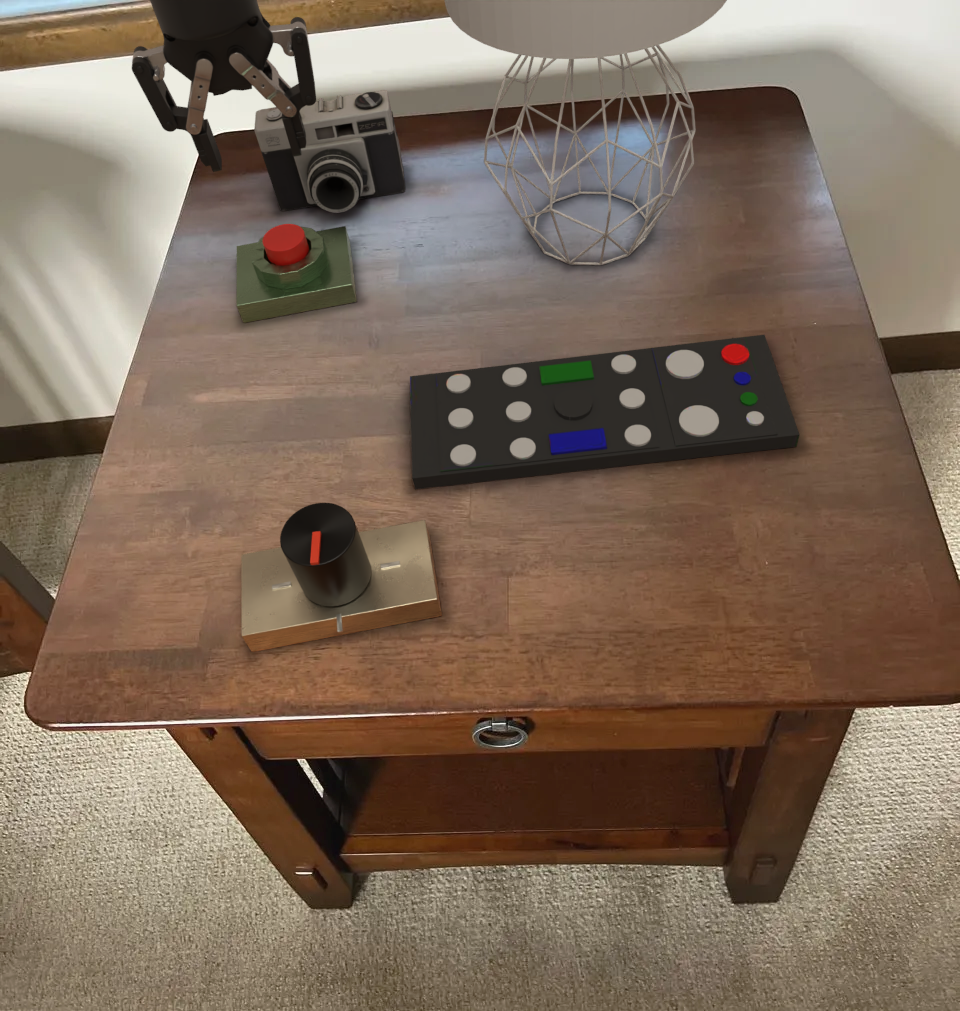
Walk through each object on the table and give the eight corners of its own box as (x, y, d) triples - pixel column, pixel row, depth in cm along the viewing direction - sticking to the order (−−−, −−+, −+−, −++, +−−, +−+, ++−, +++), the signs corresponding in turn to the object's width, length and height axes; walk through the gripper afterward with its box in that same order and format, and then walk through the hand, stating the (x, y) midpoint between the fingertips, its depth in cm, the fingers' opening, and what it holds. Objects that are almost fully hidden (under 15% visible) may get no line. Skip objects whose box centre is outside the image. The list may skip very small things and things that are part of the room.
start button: (268, 269, 86) (262, 254, 85) (267, 243, 88) (261, 227, 87) (310, 261, 86) (305, 246, 85) (308, 235, 88) (303, 220, 87)
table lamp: (457, 302, 86) (376, -218, 54) (493, 159, 99) (444, -330, 66) (702, 310, 82) (772, -245, 50) (706, 161, 95) (764, -359, 63)
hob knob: (303, 548, 68) (281, 503, 64) (372, 542, 68) (355, 496, 63) (298, 610, 65) (275, 566, 60) (370, 603, 65) (353, 559, 60)
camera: (269, 231, 95) (240, 142, 87) (283, 181, 101) (257, 93, 93) (401, 222, 94) (384, 131, 86) (408, 172, 99) (392, 82, 92)
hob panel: (252, 667, 66) (240, 650, 64) (251, 558, 71) (240, 540, 69) (444, 630, 66) (439, 612, 64) (428, 525, 71) (423, 505, 69)
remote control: (796, 446, 72) (800, 430, 71) (415, 489, 74) (411, 474, 72) (761, 347, 79) (765, 329, 77) (412, 387, 80) (408, 372, 79)
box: (243, 323, 87) (229, 291, 84) (243, 263, 93) (230, 230, 90) (357, 302, 88) (347, 269, 84) (350, 243, 93) (341, 210, 90)
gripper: (285, -88, 68) (336, 120, 81) (93, -53, 68) (176, 149, 81) (288, -44, 64) (342, 168, 77) (83, -7, 63) (173, 199, 77)
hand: (257, 158), depth 79 cm, fingers open, 6 cm apart
